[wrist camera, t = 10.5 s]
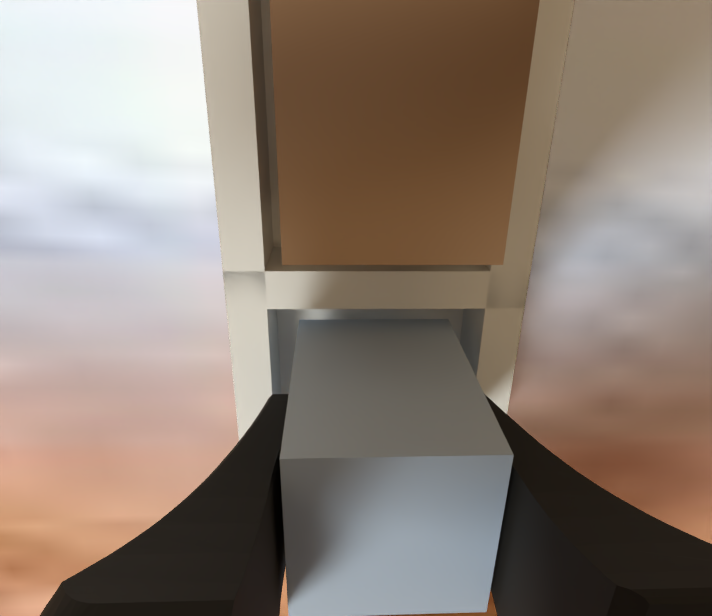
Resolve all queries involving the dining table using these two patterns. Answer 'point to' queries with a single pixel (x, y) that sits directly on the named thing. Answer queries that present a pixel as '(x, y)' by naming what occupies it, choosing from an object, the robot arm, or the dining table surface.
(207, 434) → the dining table surface
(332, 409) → the grey rectangular prism
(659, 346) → the dining table surface
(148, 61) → the dining table surface
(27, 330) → the dining table surface
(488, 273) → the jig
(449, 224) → the tan cardboard carton
